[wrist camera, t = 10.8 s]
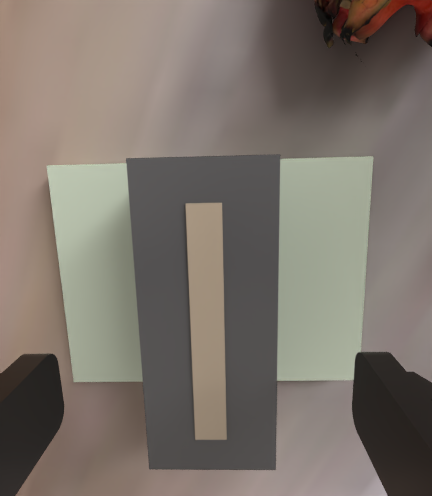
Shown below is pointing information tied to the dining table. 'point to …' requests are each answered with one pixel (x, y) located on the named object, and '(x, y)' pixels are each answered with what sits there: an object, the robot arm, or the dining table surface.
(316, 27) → the dining table surface
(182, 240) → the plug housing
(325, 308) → the board
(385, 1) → the dragon fruit
